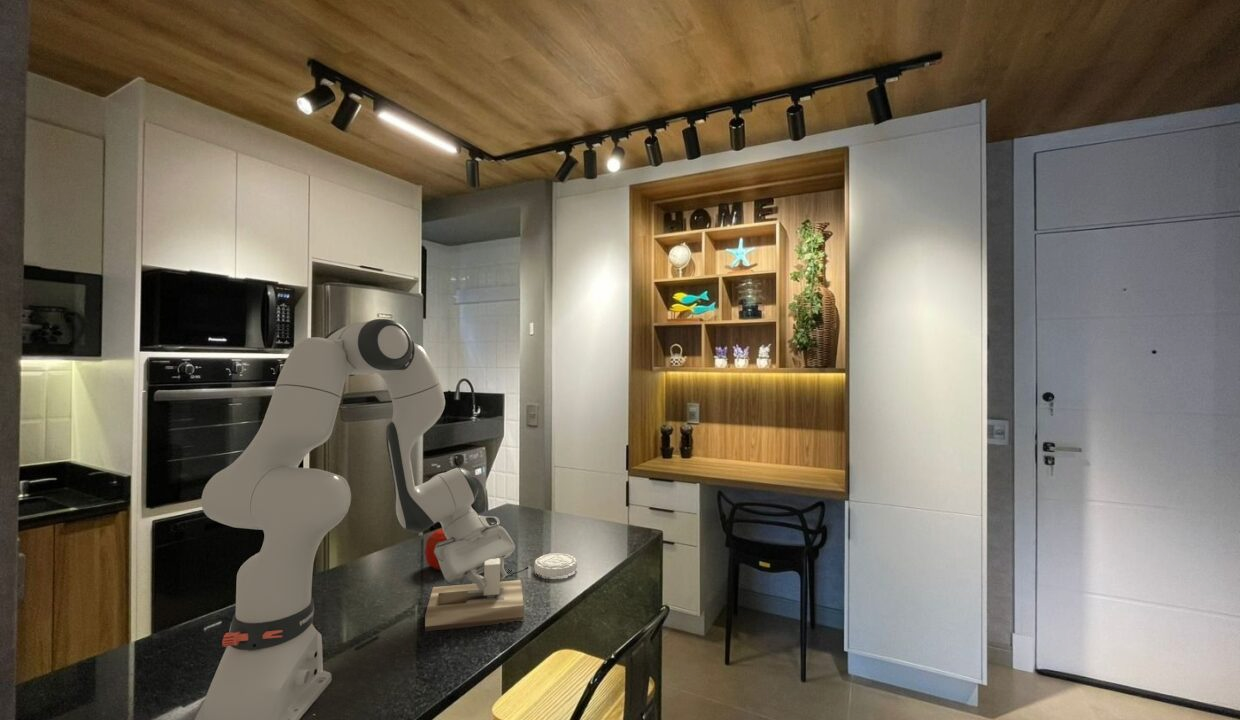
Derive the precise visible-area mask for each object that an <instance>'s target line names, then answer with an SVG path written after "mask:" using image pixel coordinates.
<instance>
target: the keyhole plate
mask: <svg viewBox="0 0 1240 720" xmlns="http://www.w3.org/2000/svg"><path fill="white" fill-rule="evenodd" d="M484 597H487V595H484V588H483V589H481V590H479V588H478V587H477V585H476V584H475V583H467V584H456V585H445V586H444V585H443V586H441V585H440V586H433V587H432V590H431V593H430V596H429V601H428V604H427V607H426V612H425V616H424V617H425V618H424V620H425V621H424V632H433V631H439V630H440V631H441V630H451V629H460V628H470V627H479V626H481V627H482V626H490V625H491V626H492V625H499V623H502V624H506V623H505V622H511V623H513V622H512V621H521V620H523V621H524V617H525V616H524V614H525V613H524V609H525V604H524V598H523V597H524V596H523V589H522V580H520V579H516V580H506V581H504V580H503V581H500V594H497V598H488V599H483V598H484ZM521 622H522V621H521Z"/></svg>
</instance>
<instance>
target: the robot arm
mask: <svg viewBox="0 0 1240 720" xmlns="http://www.w3.org/2000/svg"><path fill="white" fill-rule="evenodd" d="M372 374H373V375H374V374H378V375H379V376H380V377H381V378H382V380H383V381H384V382H385V384H386V387H387V390H388V393H389V396H390V400H391V403H392V408H393V409H392V418H391V421H390V422H389V423H388V424H387V425H386V428H385V439H386V440H385V441H386V447H387V453H388V455H387V457H388V459H389V467H390V472H391V473H390V474H391V477H392V478H391V479H392V483H393V492H394V500H395V514H396V517H397V519H398V520H397V521H398V522H399V524H400V525H401V527H402V528H403V530H405V531H409V532H412V533H420V534H421V533H424V532H425V531H426V530H428V529H430V528H431V527H433V526H434V525H435V524H436V523H440V525H441V529H443V532H444V534H445V536H446V538H447V540H445V541H443V542H439V543H437V545H436V546H435V548H434V553H435V555H436V557H437V559H438V562H439V565H440V568H441V570H440V571H441V573H442V575H443V578H444V579H445V580H446V581H448V582H449V583H451V582H454V581H456V580H458V579H460V578H464V577H465V576H466V577H467V579H468V580H469V581H471V583H472V584H476V585H477V587H478V588H479V590H481V589H483V588H485V587H486V586H487V584H488V583H487V581H486V579H485V578H481V577H480V576H478V575H477V574H478V571H479V570H481V569H484V564H485V561H487V560H489V559H498V558H500V581H501V580H504V579H506V578H507V577H506V576H507V572H506V571H505V569H504V563H505V559H507V558H508V557H510V556H511V554H513V553H514V552H515V547H516V546H515V543H514V541H513V539H512V538H511V536H510V534H509V532H508V531H507V530H506V529H505V528H504V527H503V526H501V525H500V524H501V522H500V519H499V518H498V517H497V516H486V515H485V516H484V515H479V514H478V513H477V512H476V510H475V509H474V508H473V507H472V504H473V503H475V501H476V498H477V496H478V493H479V491H480V489H479V485H478V483H477V481H476V480H475V478H474V476H473V475H472V473H471V471H469V470H467V469H465V468H463V467H455V468H452V469H449V470H448V471H446V472H441V473H438V474H436V475H433V476H432V477H431V478H430V479H429V480H428V481H425V482H423V483H421V484H419V485H415V478H414V474H413V473H414V472H413V467H412V466H413V465H412V460H411V453H412V452H411V451H412V449H413V447H414V446H415V444H416V443H417V441H418V440H419V439H420V438H421V437H422V436H423V435H424V434H425V433H426V432H427V431H429V430H430V429H431V428H432V427H433V426H435V424H436V423H437V422H438V420H439V419H440V418H441V416H442V414H443V412H444V410H445V406H446V399H445V394H444V390H443V387H442V383H441V382H440V381H441V380H440V379H439V376H438V373H437V371H436V369H435V367H434V364H433V363H432V361H431V359H430V357H429V355H428V353H427V352H426V350H425V348H423V347H422V346H421V345H419V344H418V343H414V341H413V340H412V338H411V335H410V333H409V332H408V331H407V329H406V328H405V327H404V326H403V325H402V324H401V323H399V322H397V321H395V320H393V319H389V318H388V319H387V318H376V319H375V318H374V319H372V320H369V321H362V322H355V323H352V324H348V325H346V326H344V327H342V328H341V327H340V328H337V329H335V330H333V331H331V332H330V333H328V334H327V335H326V336H325V337H318V336H317V337H307V338H303V339H301V340H299V341H298V342H296V343H295V345H294V346H293V348H292V349H291V351H290V353H289V354H288V356H287V357H286V360H285V361H284V364H283V366H282V367H281V370H280V373H279V375H278V377H277V380H276V382H275V387H274V389H273V393H272V394H271V395H272V396H271V399H270V401H269V404H268V407H267V410H266V412H265V415H264V418H263V421H262V423H261V425H260V428H259V429H258V431H257V432H256V434H255V436H254V437H253V439H252V441H250V443H249V445H248V446H247V447H246V448H245V450H244V451H243V452H242V453H240V455H239V456H238V457H237V458H236V459H235V460H234V461H233V462H232V463H231V464H230V465H228V466H226V467H225V468H223V469H221V470H220V471H218V472H216V473H215V474H214V475H212V477H211V478H210V479H209V480H208V481H207V483H206V484H205V487H204V488H203V490H202V494H201V508H202V511H203V513H204V515H205V516H206V517H207V518H209V519H211V520H212V521H215V522H217V523H219V524H222V525H225V526H229V527H232V528H237V529H249V530H261V531H263V534H264V538H263V542H262V546H261V548H260V550H259V552H257V553H255V554H254V555H252V556H250V557H249V558H248V559H247V560H246V561H244V562H243V563H242V565H241V566H240V568H239V569H238V571H237V574H236V585H235V586H236V591H235V592H236V593H235V613H234V614H233V616H232V620H231V622H230V626H229V632H226V633H225V634H224V635H223V639H222V640H221V641H222V643H221V646H222V647H224V648H225V650H224V652H223V654H222V657H221V659H220V662H219V664H218V667H217V669H216V671H215V674H214V676H213V678H212V680H211V683H210V686H209V688H208V690H207V693H206V696H205V698H204V701H203V702H202V704H201V707H200V709H199V710H198V712H197V714H196V716H195V717H194V720H300V719H301V718H302V716H303V715H304V714H305V713H306V712H307V711H308V709H309V708H310V707H311V706H312V705H313V703H315V701H316V700H317V699H318V698H319V697H320V695H321V694H322V693H323V692H324V691H325V690H326V688H327V687H328V686H329V685H330V684H331V682H332V680H333V678H332V677H333V676H332V673H331V672H329V671H326V670H324V665H323V664H324V663H323V662H324V661H323V660H324V659H323V638H322V634H321V633H320V631H318V630H317V629H316V628H315V626H314V624H313V621H314V614H315V605H314V599H313V598H312V588H313V587H312V584H313V569H314V561H315V557H316V555H317V551H318V549H319V546H320V544H321V542H322V541H323V539H324V537H325V536H326V535H327V534H328V533H329V532H330V531H331V530H332V529H333V528H335V527H336V526H338V524H340V523H341V522H342V520H343V519H344V518H345V516H346V515H347V513H348V511H349V509H350V506H351V501H352V492H351V488H350V485H349V482H348V481H347V479H346V478H345V477H343V476H342V475H339V474H336V473H333V472H330V471H327V470H323V469H319V468H309V467H299V466H300V464H301V463H302V461H303V460H304V458H305V457H306V456H307V455H308V454H309V453H310V452H311V451H313V450H314V449H315V448H317V447H320V446H322V445H324V444H325V443H326V442H327V441H328V440H329V439H330V437H331V435H332V433H333V430H334V426H335V422H336V418H337V415H338V411H339V407H340V404H341V400H342V396H343V392H344V385H345V384H346V382H347V380H348V379H349V377H353V376H360V375H361V376H362V375H363V376H365V375H372ZM437 547H438V548H437ZM505 577H506V578H505Z"/></svg>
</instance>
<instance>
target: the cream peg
mask: <svg viewBox="0 0 1240 720" xmlns="http://www.w3.org/2000/svg"><path fill="white" fill-rule="evenodd" d="M483 569H484V578H485V579H486V581H487V583H488V584H487V586H486V587H485V588H484V595H487V597H484V598H483V599H488V598H497V594H500V582H501V580H500V558H498V559H489V560H487V561H485V564H484V568H483Z"/></svg>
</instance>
